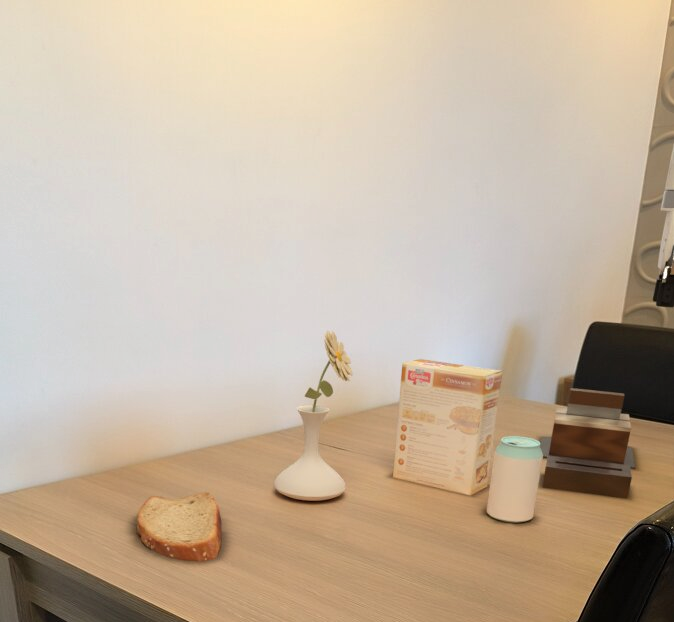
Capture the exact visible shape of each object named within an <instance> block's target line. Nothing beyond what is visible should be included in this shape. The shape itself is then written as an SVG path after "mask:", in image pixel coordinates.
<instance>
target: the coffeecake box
mask: <svg viewBox="0 0 674 622" xmlns="http://www.w3.org/2000/svg"><path fill="white" fill-rule="evenodd" d="M502 377H503V370H499V369H492V368H484V367H477V366H472V365H465V364H464V365H463V364H457V363H450V362H445V361H444V362H443V361H437V360H431V359H424V358H419V359H415V360H411V361H406V362H403V363H402V366H401V375H400V388H399V397H398V398H399V399H398V400H399V401H398V411H397V412H398V413H397V424H396V433H395V435H396V436H395V445H394V446H395V448H394V458H393V459H394V460H393V470H392V473H393V474H392V478H395V479H398V480H402V481H407V482H411V483H415V484H419V485H424V486H428V487H432V488H435V489H441V490H444V491H449V492H453V493H456V494H457V493H458V494H462V495H466V496H473V495H474V494H477V493H478V492H480V491H481V490H483V489H485V488H487V487H488V482H489V477H490V476H489V474H490V470H491V469H490V468H491V462H492V453H493V446H494V445H493V444H494V439H495V432H496V431H495V430H496V423H497V416H498V408H499V401H500V394H501V385H502Z"/></svg>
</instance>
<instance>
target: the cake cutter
mask: <svg viewBox="0 0 674 622" xmlns="http://www.w3.org/2000/svg"><path fill="white" fill-rule="evenodd" d="M624 399H625V393H622V392H613V391H602V390H592V389H585V388H576V387H575V388H574V387H570V389H569V396H568V400H567V401H568V402H567V407H566V408H567V413H566V415H574V416H584V417H593V418H602V419H611V420H619V419H620V414H622V409H623V405H624Z"/></svg>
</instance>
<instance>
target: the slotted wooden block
mask: <svg viewBox="0 0 674 622" xmlns="http://www.w3.org/2000/svg"><path fill="white" fill-rule="evenodd" d="M542 480H543V481H542V486H541V488H542V489H549V490H557V491H563V492H572V493H580V494H588V495H595V496H603V497H611V498H616V499H617V498H618V499H625V500H627V499H628V498H629V494H630V488H631V483H632V480H633V475H632V469H631V467H630V465H622V464H614V463H606V462H598V461H590V460H581V459H573V458H565V457H557V456H549V455H548V457H547V458H546V463H545V469H544V474H543V479H542Z"/></svg>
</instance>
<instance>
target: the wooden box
mask: <svg viewBox="0 0 674 622" xmlns="http://www.w3.org/2000/svg"><path fill="white" fill-rule="evenodd" d="M566 413H567V407H565V406H564V407H563V406H556V410H555V415H554V420H553V427H552V432H551V436H542V437H541V440H540V448H541V451H542V453H543V459H547V457H548V455H549V456H557V457H565V458H573V459H581V460H590V461H598V462H606V463H614V464H622V465H630V467H631V470H635V469H636V464H635V463H636V462H635V459H634V458H635V457H634V451H633V446H628V445H629V441H630V435H631V431H632V425H631V424H632V423H631V419H630V414H629V413H621V414H620V419H619V420H611V419H602V418H593V417H584V416H574V415H566Z"/></svg>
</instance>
